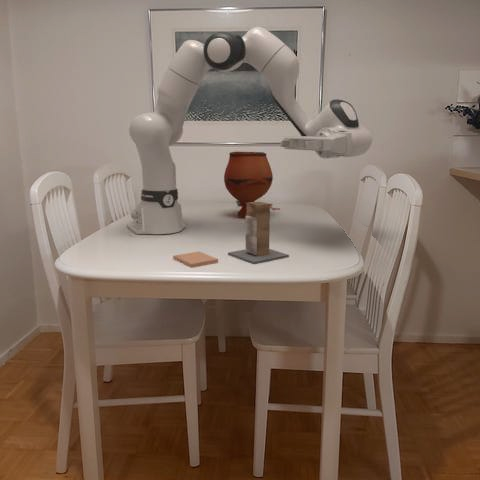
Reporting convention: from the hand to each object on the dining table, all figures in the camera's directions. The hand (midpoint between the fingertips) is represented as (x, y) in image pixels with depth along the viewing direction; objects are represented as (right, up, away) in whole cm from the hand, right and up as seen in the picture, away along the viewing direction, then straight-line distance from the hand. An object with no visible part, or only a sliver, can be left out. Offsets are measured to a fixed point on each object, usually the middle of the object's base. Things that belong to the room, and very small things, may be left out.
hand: (293, 144), depth 136 cm
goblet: (-12, -17, +59) cm, 62 cm away
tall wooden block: (-10, -30, 0) cm, 32 cm away
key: (0, -13, +80) cm, 81 cm away
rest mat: (-10, -31, 0) cm, 32 cm away
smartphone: (-12, -10, +90) cm, 91 cm away
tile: (-23, -31, -3) cm, 39 cm away
